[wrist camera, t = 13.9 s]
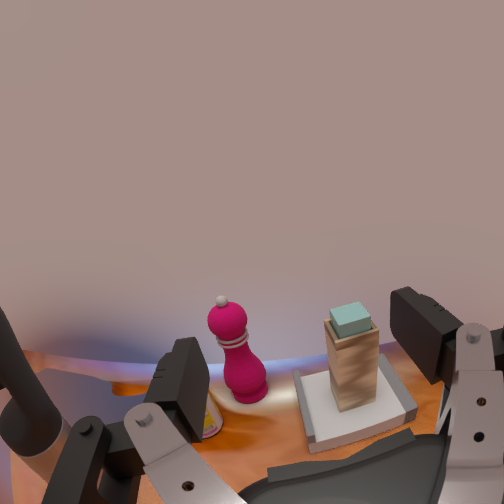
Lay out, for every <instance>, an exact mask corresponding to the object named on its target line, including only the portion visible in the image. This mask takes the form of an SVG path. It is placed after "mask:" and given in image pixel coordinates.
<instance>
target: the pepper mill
mask: <svg viewBox="0 0 504 504" xmlns="http://www.w3.org/2000/svg"><path fill="white" fill-rule="evenodd" d="M216 304H217V305H216V306H215V307H213V308H212V309H211V311H210V312H209V315H208V326H209V329H210V331H211V332H212V333H213V334H215V335H216V339H217V341H218V345H219V346H220V347H222V348H223V349H224V353H225V365H224V379H225V383H226V385H227V386H228V387H229V388H230V389H231V390H232V393H233V395H234V398H235V399H236V400H237V401H239V402H241V403H246V404H249V403H254V402H257V401H259V400H261V399H262V398H263V397H264V396H265V395H266V393H267V390H268V388H267V384H266V381H265V378H266V370H265V368H264V365H263V364H262V362H261V361H260V360H259V359H258V358H257V357H256V356H255V355H254V354H253V353H252V352H251V350H250V349H249V346H248V342H247V340H248V337H249V334H248V332H247V329H246V324H247V316H246V313H245V311H244V309H243V308H242V307H241V306H240V305H238V304H236V303H234V302H228V300H227V298H226V297H225V296H223V295H220V296H218V297H217V298H216Z"/></svg>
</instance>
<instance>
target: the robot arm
mask: <svg viewBox="0 0 504 504" xmlns="http://www.w3.org/2000/svg"><path fill="white" fill-rule="evenodd" d="M390 300H391V301H390V328H391V332H392V334H393V336H394V338H395V339H396V340H397V341H398V343H399V344H400V345H401V346H402V348H403V349H404V350H405V351H406V353H407V354H408V355H409V356H410V358H411V359H412V360H413V362H414V363H415V364H416V365H417V367H418V368H419V369H420V371H421V372H422V373H423V374H424V376H425V377H426V378H427V380H428V381H429V382H430V384H431V385H433V384H435V383H437V382H439V381H441V380H442V381H443V382H444V385H443V389H442V396H441V402H440V408H439V414H438V419H437V424H436V428H435V431H434V434H420V435H413V433H412V431H411V429H410V427H409V428H407V429H405V430H402V431H400V432H398V433H395V434H393V435H390V436H388V437H385V438H382V439H380V440H377V441H376V442H374V443H373V444H371V445H369V446H368V447H366V448H364V449H362V450H361V451H359V452H357V453H355V454H354V455H352V456H350V457H348V458H346V459H343V460H331V461H304V462H299V463H294V464H289V465H283V466H277V467H271V468H267V472H268V477H266V478H264V479H261V480H259V481H257V482H255V483H253V484H251V485H249V486H247V487H246V488H244V489H243V490H242V491H240V492H239V493H238V494H236V493H235V492H234V491H233V490H232V489H231V488H230V487H229V486H228V485H227V484H226V483H225V482H224V481H223V480H222V479H221V478H220V477H219V476H218V475H217V474H216V473H215V472H214V470H213V469H212V468H211V467H210V466H209V465H208V464H207V463H206V462H205V461H204V460H203V458H202V457H201V456H200V455H199V454H198V453H197V452H196V450H195V449H194V448H193V447H192V446H191V443H202V437H203V429H204V420H205V412H206V404H207V396H208V389H209V381H210V377H209V370H208V367H207V364H206V362H205V359H204V357H203V354H202V352H201V349H200V347H199V344H198V341H197V339H196V338H195V337H189V338H183V339H177V340H176V341H175V344H174V346H173V349H172V352H170V353H166V354H165V355H164V356H163V357H162V359H160V361H159V363H158V365H157V367H156V372H155V373H154V375H153V379H152V381H151V383H150V386H149V389H148V391H147V394H146V397H145V399H144V402H143V404H139V405H137V406H135V407H133V408H132V409H131V410H130V411H129V412H128V413H127V414H126V416H125V419H124V421H121V422H117V423H113V424H108V425H105V424H104V423H103V422H102V421H101V419H100V418H98V417H96V416H87V417H84V418H82V419H80V420H78V421H77V422H76V423H75V424H74V425H73V427H71V426H70V425H69V423H68V422H67V421H66V419H65V418H64V417H63V416H62V414H61V413H60V412H59V410H58V409H57V408H56V407H55V405H54V404H53V402H52V401H51V400H50V398H49V396H48V395H47V393H46V391H45V390H44V388H43V386H42V385H41V383H40V382H39V380H38V378H37V377H36V375H35V374H34V372H33V370H32V368H31V367H30V365H29V363H28V361H27V359H26V357H25V355H24V353H23V351H22V349H21V347H20V345H19V343H18V341H17V339H16V337H15V334H14V332H13V330H12V328H11V326H10V323H9V321H8V320H7V318H6V316H5V314H4V312H3V311H2V309H1V307H0V390H1V389H3V388H5V387H6V388H7V389H8V391H9V392H10V394H11V396H12V399H11V400H10V401H9V402H8V404H7V405H6V406H5V408H4V410H3V411H2V413H1V416H0V435H1V437H2V439H3V440H4V441H5V442H6V444H7V445H8V446H9V447H10V448H11V449H12V450H13V451H14V452H15V453H16V454H17V455H18V456H19V457H20V458H21V459H22V460H23V461H24V462H25V463H26V464H27V465H28V466H29V467H30V468H31V469H32V470H33V471H35V472H36V473H37V474H38V475H39V476H40V477H41V478H42V479H44V480H45V481H46V482H47V483H48V486H47V489H46V492H45V495H44V498H43V500H42V503H41V504H136V503H137V496H138V490H139V485H140V479H141V475H144V474H146V475H147V477H148V478H149V480H150V482H151V483H152V485H153V487H154V488H155V490H156V491H157V493H158V494H159V496H160V497H161V499H162V500H163V502H164V503H165V504H504V326H503V328H501V329H497V330H493V331H489V330H488V329H487V328H486V327H485V326H483V325H481V324H477V323H469V324H463V323H462V322H461V321H460V320H458V319H457V318H456V317H455V316H454V315H452V314H451V313H450V312H449V311H447V310H445V308H444V307H442V306H441V305H439V303H437V302H436V301H435V300H434V299H432V298H431V297H428V296H425V295H423V294H420V295H419V294H418V293H417V292H416V291H414V290H413V289H412V288H410V287H404V288H401V289H398V290H395V291H392V292H391V297H390Z"/></svg>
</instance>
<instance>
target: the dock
mask: <svg viewBox="0 0 504 504" xmlns="http://www.w3.org/2000/svg"><path fill="white" fill-rule="evenodd" d="M292 372H293V377H294V382H295V387H296V392H297V396H298V401H299V405H300V409H301V414H302V418H303V423H304V427H305V432H306V437H307V441H308V446H309V450H310V454H313V453H317V452H321V451H325V450H329V449H333V448H336V447H340V446H343V445H347V444H350V443H353V442H356V441H359V440H362V439H365V438H368V437H371V436H374V435H377V434H380V433H382V432H385V431H387V430H390V429H393V428H395V427H397V426H400V425H402V424H405V423H407V422H409V421H411V420H414V419H415V416H416V413H417V409H418V406H417V404H416V403H415V401H414V400H413V398H412V397H411V395H410V393H409V392H408V390H407V389H406V387H405V386H404V384H403V383H402V381H401V380H400V378H399V377H398V375H397V374H396V372H395V371H394V369H393V368H392V366H391V365H390V363H389V362H388V360H387V359H386V358H385V356H384V355H383V353H382V354H379V355H378V374H377V388H376V400H375V402H372V403H369V404H366V405H363V406H360V407H357V408H354V409H351V410H348V411H344V412H341V413H340V412H339V410H338V407H337V404H336V401H335V399H334V396H333V393H332V391H331V387H330V375H329V370H328V371H324V372H320V373H316V374H312V375H308V376H304V377H300V374H299V370H298V369H297V370H292Z"/></svg>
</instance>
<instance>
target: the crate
mask: <svg viewBox="0 0 504 504" xmlns="http://www.w3.org/2000/svg"><path fill="white" fill-rule="evenodd" d="M324 327H325V335H326V343H327V354H328V364H329V375H330V387H331V391H332V393H333V396H334V399H335V401H336V404H337V407H338V410H339V412H340V413H341V412H344V411H348V410H351V409H354V408H357V407H360V406H363V405H366V404H369V403H372V402H375V400H376V388H377V374H378V354H379V329H378V328H377V327H376V326H375V324H374V323H373V322H372V320H371V330H369V331H366V332H363V333H360V334H356V335H353V336H350V337H346V338H343V339H339V340H338V338H337V336H336V334H335V332H334V330H333V329H332V327H331V319H330V318H329V319H325V320H324Z"/></svg>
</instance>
